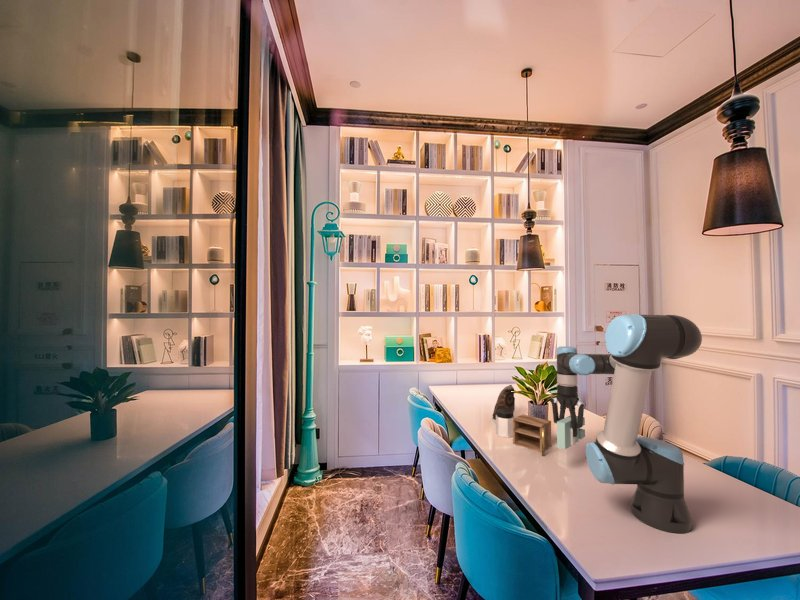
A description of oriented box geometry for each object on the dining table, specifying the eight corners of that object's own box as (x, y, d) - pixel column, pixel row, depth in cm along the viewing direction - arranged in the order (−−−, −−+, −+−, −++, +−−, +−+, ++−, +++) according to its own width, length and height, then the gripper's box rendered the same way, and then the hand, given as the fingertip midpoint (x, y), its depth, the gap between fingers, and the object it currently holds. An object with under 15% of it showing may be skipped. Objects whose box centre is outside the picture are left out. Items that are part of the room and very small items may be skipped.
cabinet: (541, 452, 156) (541, 425, 157) (513, 443, 167) (513, 418, 167) (551, 446, 163) (551, 420, 164) (523, 438, 174) (523, 414, 174)
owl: (511, 417, 209) (511, 383, 210) (522, 423, 197) (522, 388, 197) (491, 418, 206) (491, 384, 207) (502, 425, 194) (502, 388, 195)
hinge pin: (544, 456, 152) (543, 428, 152) (541, 455, 153) (541, 428, 153) (545, 455, 153) (545, 428, 153) (542, 455, 154) (542, 427, 154)
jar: (515, 438, 174) (515, 413, 175) (499, 438, 174) (499, 413, 174) (509, 431, 183) (509, 408, 184) (494, 431, 183) (494, 408, 183)
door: (573, 436, 151) (572, 412, 151) (585, 439, 147) (584, 415, 148) (555, 446, 138) (554, 421, 138) (567, 450, 134) (567, 423, 135)
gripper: (591, 386, 139) (593, 446, 138) (551, 381, 151) (552, 436, 149) (585, 388, 134) (586, 451, 133) (543, 383, 146) (544, 440, 144)
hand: (568, 443), depth 141 cm, fingers closed on door, 3 cm apart
